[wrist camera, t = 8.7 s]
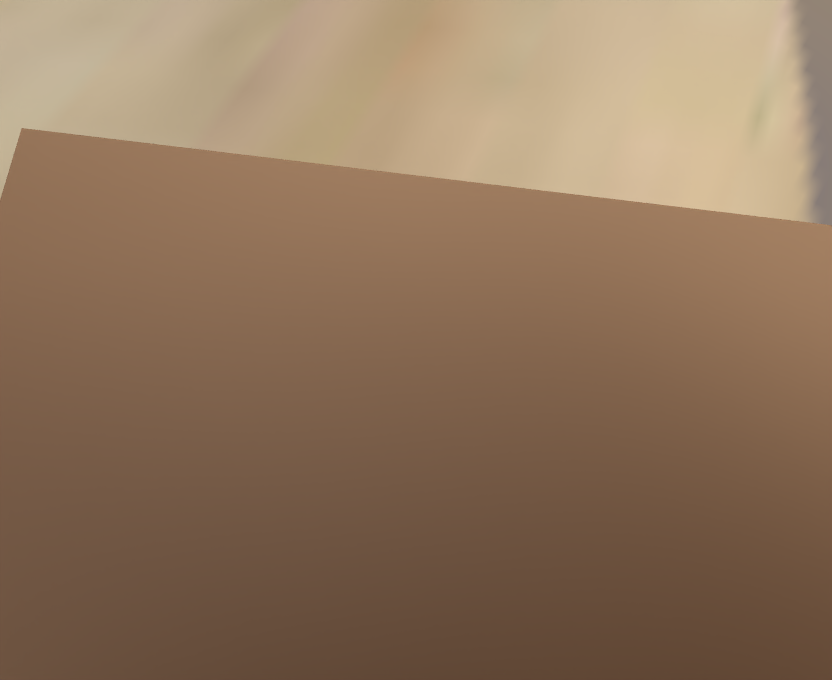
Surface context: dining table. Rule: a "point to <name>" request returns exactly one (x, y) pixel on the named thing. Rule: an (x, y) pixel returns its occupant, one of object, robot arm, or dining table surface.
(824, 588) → the walnut block
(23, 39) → the dining table surface
